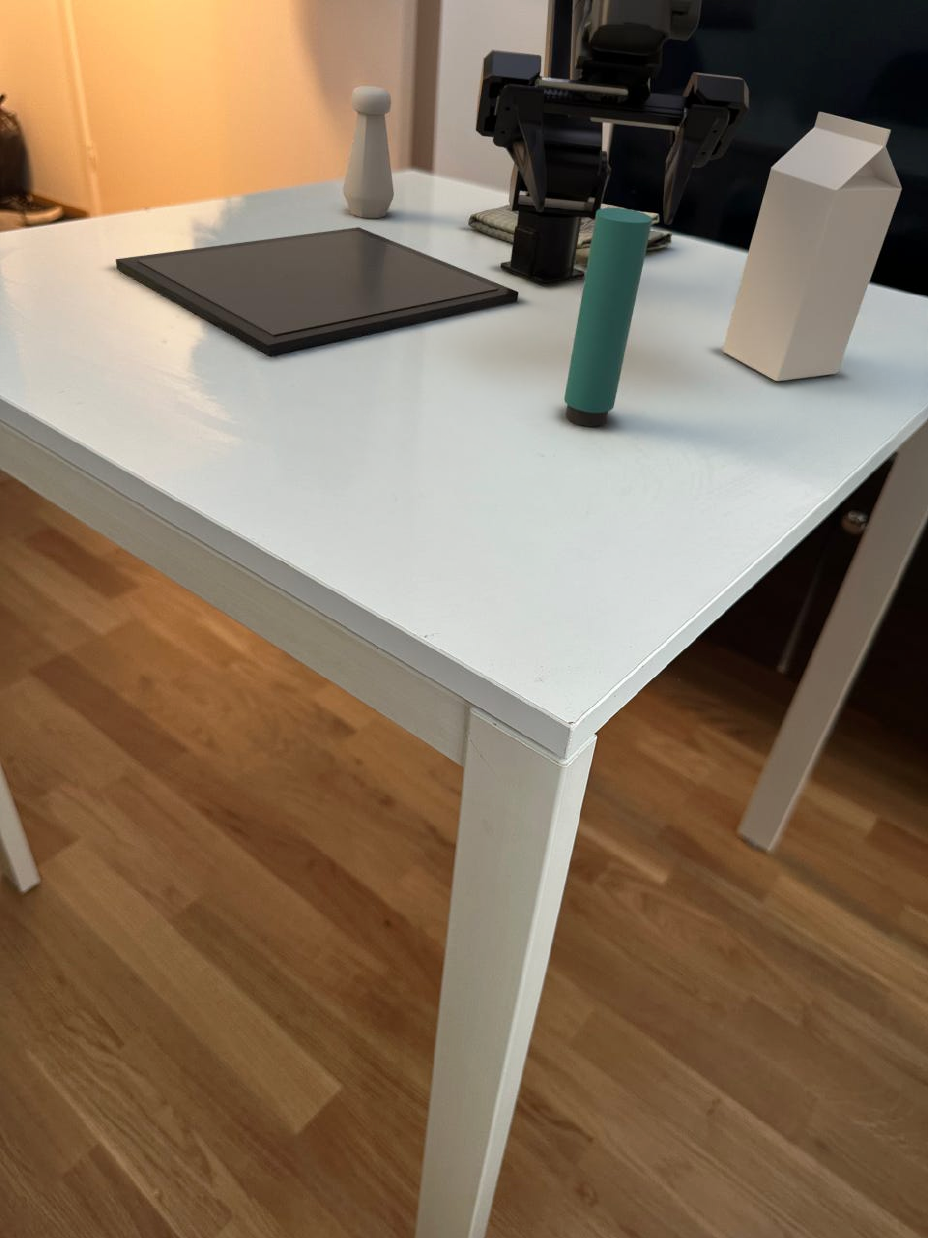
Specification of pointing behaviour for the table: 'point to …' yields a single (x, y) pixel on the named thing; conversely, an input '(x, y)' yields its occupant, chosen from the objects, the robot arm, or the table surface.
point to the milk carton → (814, 250)
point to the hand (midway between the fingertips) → (605, 214)
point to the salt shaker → (369, 155)
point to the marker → (605, 313)
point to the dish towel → (505, 221)
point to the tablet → (313, 287)
